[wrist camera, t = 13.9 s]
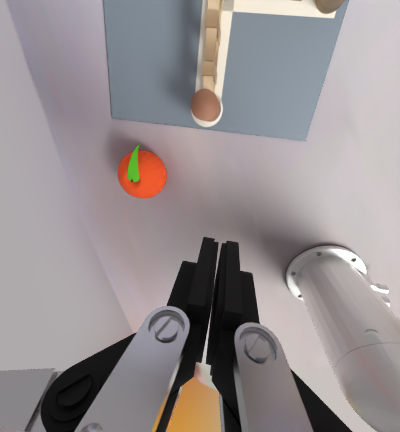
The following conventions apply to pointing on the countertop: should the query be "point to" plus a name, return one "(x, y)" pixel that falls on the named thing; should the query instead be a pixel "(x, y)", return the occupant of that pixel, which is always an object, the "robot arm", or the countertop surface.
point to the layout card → (221, 62)
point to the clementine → (142, 173)
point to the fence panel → (209, 67)
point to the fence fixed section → (327, 5)
